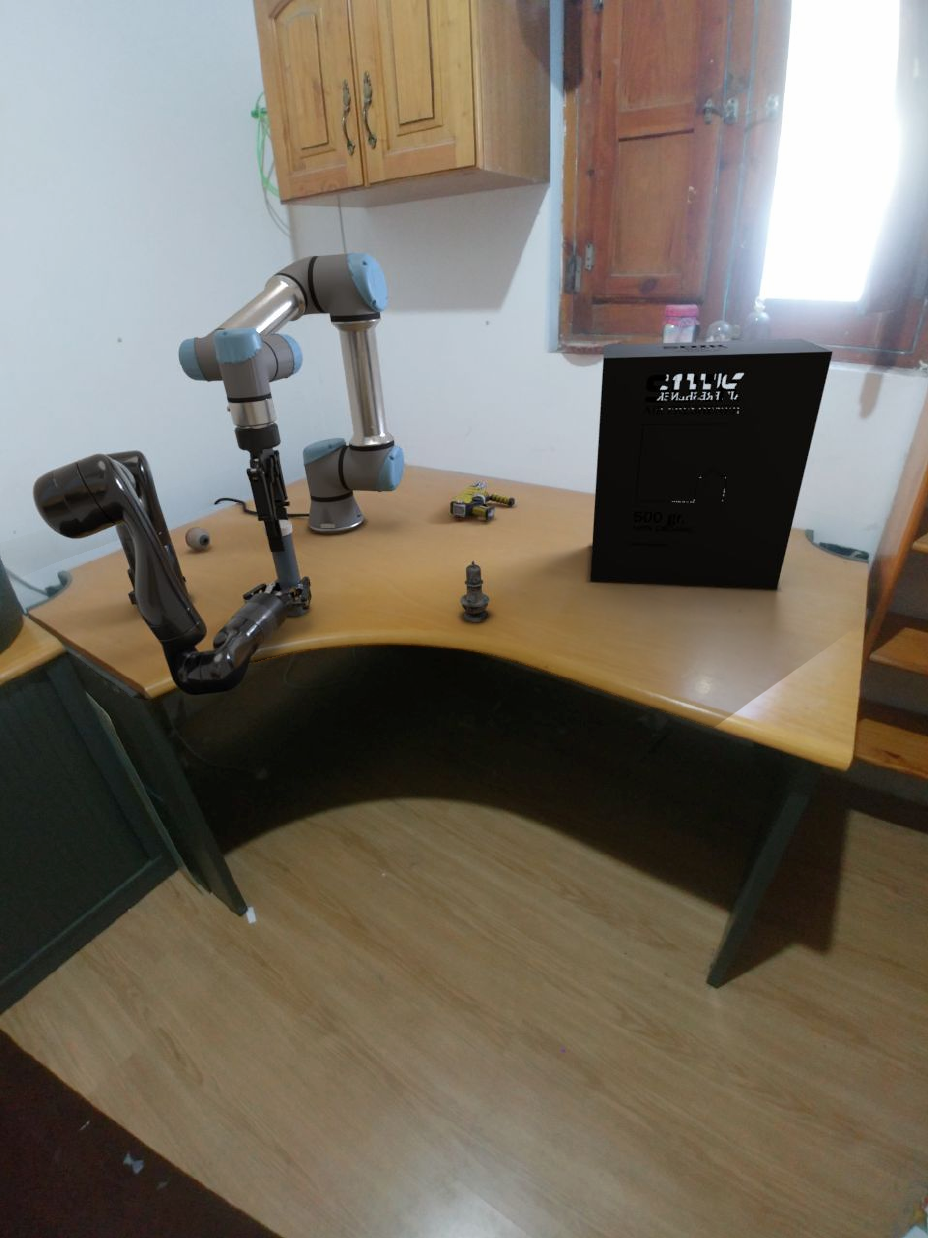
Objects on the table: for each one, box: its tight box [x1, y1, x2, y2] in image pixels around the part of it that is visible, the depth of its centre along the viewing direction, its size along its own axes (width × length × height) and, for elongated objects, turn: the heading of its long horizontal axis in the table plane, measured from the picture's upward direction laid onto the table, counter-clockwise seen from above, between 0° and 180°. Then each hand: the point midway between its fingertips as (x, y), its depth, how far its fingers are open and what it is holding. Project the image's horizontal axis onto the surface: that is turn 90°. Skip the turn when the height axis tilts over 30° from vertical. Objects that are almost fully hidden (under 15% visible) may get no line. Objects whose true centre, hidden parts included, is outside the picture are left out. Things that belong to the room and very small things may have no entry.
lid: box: [263, 519, 293, 537], centre depth 117 cm, size 5×5×2 cm
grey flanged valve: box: [459, 560, 491, 623], centre depth 118 cm, size 6×6×12 cm
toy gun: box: [449, 480, 516, 522], centre depth 174 cm, size 5×24×15 cm
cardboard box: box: [589, 338, 834, 590], centre depth 125 cm, size 38×20×45 cm, turn 78°
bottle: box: [271, 532, 308, 617], centre depth 122 cm, size 4×4×19 cm
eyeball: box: [184, 526, 211, 551], centre depth 157 cm, size 6×6×6 cm
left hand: (296, 580), depth 126 cm, fingers closed on bottle, 4 cm apart
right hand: (281, 544), depth 119 cm, fingers closed on lid, 5 cm apart
